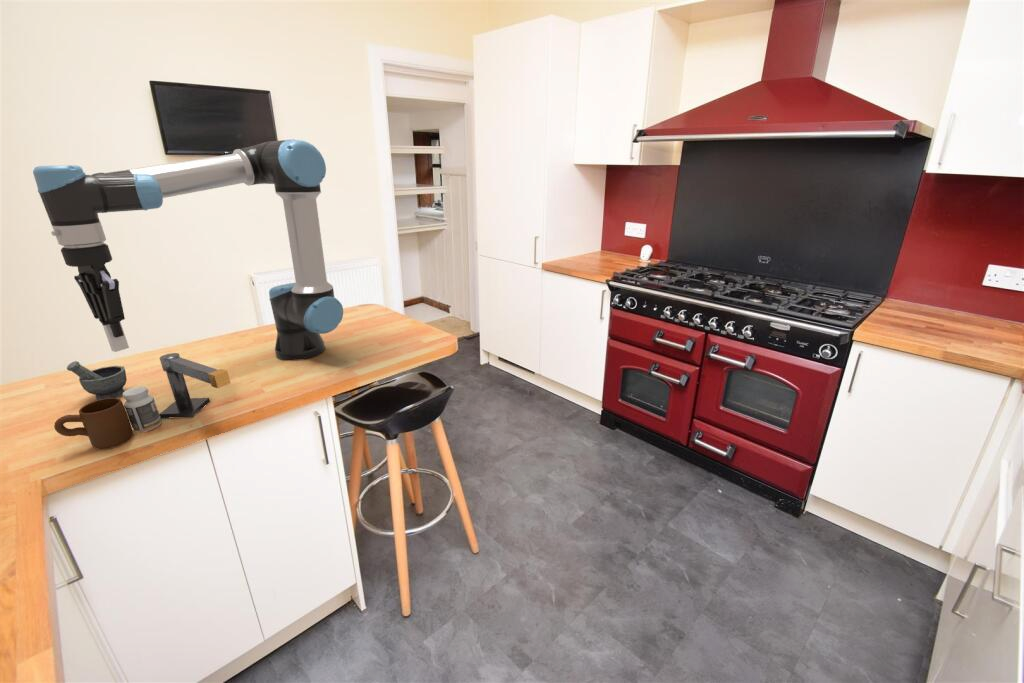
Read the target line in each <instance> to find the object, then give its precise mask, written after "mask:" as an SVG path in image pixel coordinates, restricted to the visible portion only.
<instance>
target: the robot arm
mask: <svg viewBox="0 0 1024 683" xmlns="http://www.w3.org/2000/svg"><path fill="white" fill-rule="evenodd" d="M326 165H327V164H326V162H325V159H324V157H323V154H322V153H321V152H320V150H319V149H318V148H317V147H315V145H314V144H311V143H310V142H308V141H305V140H300V139H294V138H293V139H292V138H291V139H284V140H269V141H266V142H262V143H259V144H258V143H257V144H255V145H252V146H248V147H247V146H246V147H242V148H237V149H234V150H233V152H232V153H231V154H230V153H229V154H223V155H216V156H209V157H204V158H198V159H189V160H184V161H177V162H172V163H171V162H170V163H164V164H162V163H161V164H156V165H151V166H150V165H149V166H143V167H137V168H131V169H126V170H116V171H110V172H96V173H92V174H86V172H84V170H83V168H82V167H81V166H80V165H77V164H73V165H38V166H36V167H34V169H33V170H32V173H33V177H34V180H35V183H36V188H37V192H38V193H39V196H40V198H41V201H42V204H43V206H44V210H45V212H46V214H47V217H48V220H49V221H50V224H51V227H52V230H53V231H51V235H52V236H54V237H55V238H56V240H57V244H58V245H60V246H62V247H61V249H60V253H61V254H62V257H63V261H64V264H65V265H66V266H68V267H72V268H77V271H78V274H77V275H74V280H75V282H76V283H77V285H78V287H79V288H80V290H81V293H82V294H83V296H84V298H85V300H86V303H87V305H88V308H89V309H90V312H91V313H92V314H93V317H94V319H96V320H98V321H99V322H100V323H101V324H102V326H103V329H104V332H105V335H106V337H107V342H108V344H109V347H110V349H111V352H114V353H116V352H117V353H118V352H120V351H124V350H126V349H130V346H129V344H128V340H127V338H126V335H125V332H124V330H123V329H124V328H123V326H122V324H121V322H122V321H124V320H125V319H126V318H125V313H124V308H123V303H122V298H121V294H120V281H119V280H118V279H117V278H112V276H111V274H110V272H109V270H108V269H107V266H106V264H107V263H111V262H112V260H113V257H112V254H111V251H110V248H109V245H108V244H107V243H104V242H106V240H107V238H106V234H105V231H104V229H103V225H102V222H101V220H100V219H99V215H98V214H105V213H106V214H108V213H116V212H117V213H118V212H120V213H121V212H132V211H148V210H154V209H159V208H161V207H162V206H163V203H164V199H165V198H166V199H167V198H171V197H177V196H181V195H186V194H187V195H188V194H192V193H197V192H204V191H207V190H213V189H218V188H224V187H229V186H233V185H239V184H245V185H246V186H248V187H249V186H250V187H251V186H254V185H264V184H265V185H274V191H275V194H276V195H277V196H278V197H280V198H281V200H282V204H283V209H284V216H285V222H286V228H287V229H286V230H287V235H288V241H289V248H290V253H291V260H292V261H291V262H292V268H293V273H294V279H295V282H290V283H285V284H279V285H276V286H273V287H271V288H270V289H269V291H268V295H269V302H270V305H271V309H272V310H271V311H272V315H273V319H274V324H275V328H276V340H275V347H274V351H275V352H274V353H275V357H276V358H278V359H279V360H282V361H299V360H301V361H302V360H307V359H310V358H313V357H317V356H318V355H320V354H322V353H323V352H324V351H325V350H326V347H325V346H326V345H325V341H324V339H323V337H322V335H323V334H329V333H331V332H333V331H334V330H336V329H337V328H338V326H339V324H340V323H341V322H342V320H343V317H344V308H343V305H342V304H343V303H342V302H340V301H339V299H337V298H336V297H335V292H334V286H333V285H332V284H331V283H330V282H329V281H328V280H327V278H328V277H327V271H326V266H325V265H326V264H325V256H324V250H323V242H322V234H321V233H322V232H321V227H320V218H319V211H318V202H317V198H318V197H319V195H320V194H322V190H321V183H322V182H323V180H324V178H325V176H326V172H327V167H326Z"/></svg>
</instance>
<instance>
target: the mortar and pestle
mask: <svg viewBox="0 0 1024 683" xmlns="http://www.w3.org/2000/svg"><path fill="white" fill-rule="evenodd" d="M66 370H67V371H68V372H72V373H73V374H75V375H76V376H77V377H79V378H78V379H79V383H80V385H81V387H82V389H83V390H84V391H86V392H87V393H88V394H91V395H95V399H96V400H95V401H97V400H101V399H106V398H120V397H121V396H122V397H123V392H125V390H124V386H125V385H126V383H127V380H128V379H127V373H126V369H125V366H122V365H111V366H104V367H103V366H102V367H99V368H95V369H93V370H90V369H89V368H87V367H85V366H84V365H82V364H80V362H79V361H77V360H75V361H72V362H70V363H69V364H68V365H67V366H66Z"/></svg>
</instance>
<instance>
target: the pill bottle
mask: <svg viewBox="0 0 1024 683" xmlns="http://www.w3.org/2000/svg"><path fill="white" fill-rule="evenodd" d="M149 392H150V391H149V388H148V387H147V386H143V385H142V386H134V387H132V388H129V389H126V390H124V392H123V395H122V397H123V399H124V400H125V401H124V403H123V405H124V408H125V410H126V413H127V416H128V418H129V421H130V424H131V427H132V430H133V432H136V433H145V432H149V431H151V430H154V429H156V428H159V426H160V425H161V424H162V418H160V415H159V414H160V412H159V410H158V407H157V405H156V404H157V403H156V401H155V398H154V397H153V395H151V394H149Z"/></svg>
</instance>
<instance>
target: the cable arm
mask: <svg viewBox="0 0 1024 683" xmlns="http://www.w3.org/2000/svg"><path fill="white" fill-rule="evenodd" d="M159 361H160V365H161V367H162V370H163V372H166V371H167V372H168V371H175V372H178V373H181V374H183V375H184V376H187V377H190V378H193V379H194V380H195V379H196V380H199V381H200V382H204V383H206V384H209V385H210V386H211V387H213V388H215V389H220V388H223V387H226V386H228V385H230V384H232V383H231V378H230V374H229V372H228V370H227V369H223V368H220V369H217V368H214V367H211V366H209V365H205V364H201V363H199V362H197V361H193V360H189V359H187V358H183V357H181V356H180V353H178V352H172V353H167V354H164V355H161V356H160V357H159Z"/></svg>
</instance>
